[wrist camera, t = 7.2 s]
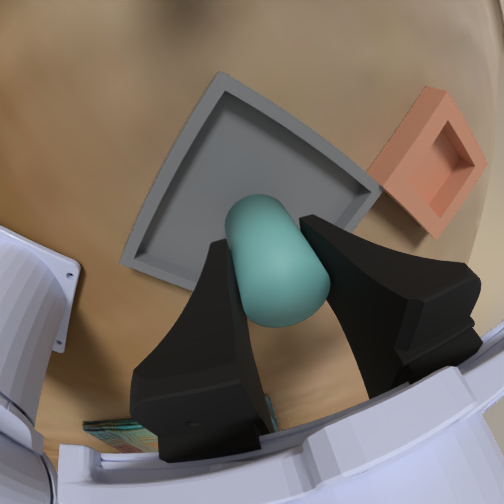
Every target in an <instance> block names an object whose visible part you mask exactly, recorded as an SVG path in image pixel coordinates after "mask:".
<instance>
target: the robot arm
mask: <svg viewBox="0 0 504 504" xmlns="http://www.w3.org/2000/svg"><path fill="white" fill-rule="evenodd" d="M299 224H300V231H301V233H302V234H303V236H304V237H305V239H306V240H307V242H308V243H309V245H310V246H311V248H312V249H313V251H314V253H315V254H316V256H317V257H318V259H319V260H320V262H321V264H322V265H323V267H324V268H325V270H326V271H327V273H328V275H329V278H330V290H329V294H328V296H327V298H326V300H327V302H328V303H329V305H330V306H331V308H332V310H333V311H334V313H335V315H336V317H337V318H338V320H339V322H340V324H341V326H342V329H343V331H344V333H345V335H346V338H347V340H348V342H349V345H350V347H351V350H352V352H353V354H354V357H355V359H356V362H357V365H358V367H359V370H360V373H361V375H362V378H363V381H364V384H365V387H366V390H367V393H368V396H369V399H370V400H368V401H365V402H363V403H360V404H358V405H356V406H353V407H351V408H348V409H346V410H343V411H340V412H338V413H335V414H332V415H329V416H327V417H324V418H321V419H318V420H315V421H312V422H309V423H306V424H302V425H299V426H296V427H293V428H289V429H286V430H282V431H278V432H275V430H274V427H273V424H272V420H271V417H270V413H269V410H268V407H267V403H266V400H265V396H264V393H263V389H262V386H261V382H260V378H259V375H258V371H257V367H256V364H255V360H254V356H253V353H252V348H251V343H250V337H249V330H248V324H247V317H246V314H245V312H244V309H243V305H242V301H241V296H240V292H239V288H238V284H237V280H236V275H235V270H234V265H233V261H232V257H231V252H230V249H229V246H228V243H227V239H226V238H225V239H221V240H218V241H214V242H211V244H210V245H209V250H208V254H207V257H206V260H205V264H204V266H203V269H202V272H201V275H200V277H199V280H198V282H197V284H196V287H195V289H194V291H193V293H192V295H191V297H190V299H189V301H188V303H187V305H186V307H185V308H184V310H183V312H182V313H181V315H180V316H179V318H178V320H177V321H176V323H175V324H174V325H173V327H172V328H171V330H170V331H169V332H168V334H167V335H166V336H165V337H164V339H163V340H162V341H161V342H160V343H159V344H158V346H157V347H156V348H155V349H154V350H153V351H152V352H151V353H150V354H149V355H148V356H147V357H146V358H145V359H144V360H143V361H142V362H141V363H140V364H139V365H138V366H137V367H136V368H135V369H134V370H133V376H132V381H131V389H130V414H131V417H132V418H133V419H134V420H135V421H136V422H137V423H138V424H140V425H141V426H143V427H144V428H145V429H147V430H148V431H150V432H151V433H153V434H154V435H156V436H158V452H148V453H99V452H98V451H97V450H95V449H93V448H91V447H88V446H85V445H76V444H60V449H59V462H58V474H57V472H56V469H55V467H54V465H53V464H52V462H51V460H50V459H49V457H48V456H47V455H46V454H45V453H44V452H43V451H42V450H43V441H44V436H43V435H42V434H40V433H39V432H37V431H36V430H35V429H34V427H35V421H36V415H37V410H38V405H39V400H40V395H41V391H42V386H43V382H44V378H45V374H46V370H47V366H48V363H49V359H50V355H51V352H52V350H53V351H56V352H58V353H63V352H64V350H65V344H66V337H67V331H68V325H69V320H70V314H71V309H72V304H73V300H74V295H75V291H76V286H77V282H78V278H79V274H80V270H81V267H80V264H79V263H78V262H77V261H75V260H73V259H71V258H68V257H66V256H64V255H62V254H59V253H57V252H55V251H53V250H50V249H48V248H46V247H44V246H42V245H40V244H37V243H35V242H33V241H31V240H29V239H27V238H25V237H23V236H21V235H19V234H17V233H15V232H13V231H11V230H9V229H7V228H5V227H3V226H1V225H0V504H504V457H503V455H502V453H501V451H500V449H499V447H498V445H497V443H496V441H495V439H494V437H493V435H492V433H491V431H490V429H489V427H488V425H487V423H486V422H485V420H484V418H483V416H482V414H483V413H484V412H485V411H486V410H488V409H489V408H490V407H491V406H492V405H494V404H495V403H496V402H497V401H498V400H499V399H500V398H501V397H502V396H504V320H503V321H502V322H501V323H499V324H498V325H496V326H495V327H494V328H493V329H491V330H490V331H489V332H487V333H486V334H485V335H483V336H482V337H479V336H478V334H477V333H476V332H475V330H474V329H473V328H472V327H474V325H475V323H474V320H473V319H472V318H471V317H470V314H471V312H472V310H473V308H474V306H475V304H476V302H477V299H478V297H479V294H480V290H481V281H480V278H479V277H478V276H477V275H476V274H475V273H474V272H473V271H472V270H471V269H470V268H469V267H468V266H467V265H466V264H465V263H460V262H450V261H440V260H434V259H428V258H423V257H418V256H414V255H410V254H406V253H402V252H398V251H395V250H392V249H389V248H386V247H383V246H380V245H377V244H375V243H372V242H370V241H367V240H365V239H363V238H360V237H358V236H356V235H354V234H352V233H349V232H347V231H345V230H343V229H341V228H339V227H337V226H335V225H334V224H332V223H330V222H328V221H326V220H324V219H322V218H320V217H318V216H316V215H314V214H311V215H307V216H304V217H300V218H299ZM69 273H71V274H73V276H71V275H70V274H69Z"/></svg>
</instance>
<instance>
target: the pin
mask: <svg viewBox="0 0 504 504" xmlns="http://www.w3.org/2000/svg"><path fill="white" fill-rule="evenodd" d="M225 233H226V237H227V241H228V246H229V249H230V252H231V257H232V261H233V265H234V270H235V275H236V280H237V284H238V288H239V292H240V296H241V301H242V305H243V309H244V312H245V314H246V315H247V317H248V318H249V319H250V320H252V321H253V322H254V323H256V324H258V325H261V326H265V327H271V328H278V327H286V326H290V325H294V324H296V323H299V322H301V321H303V320H305V319H307V318H308V317H310V316H311V315H313V314H314V313H315V312H316V311H317V310H318V309H319V308H320V307H321V306H322V305H323V303H324V302H325V300H326V298H327V296H328V294H329V290H330V278H329V275H328V273H327V271H326V270H325V268H324V267H323V265H322V264H321V262H320V260H319V259H318V257H317V256H316V254H315V253H314V251H313V249H312V248H311V246H310V245H309V243H308V242H307V240H306V239H305V237H304V236H303V234H302V233H301V231H300V230H299V228H298V227H297V225H296V224H295V222H294V221H293V219H292V218H291V216H290V215H289V213H288V212H287V210H286V209H285V207H284V206H283V204H282V203H281V202H280V201H279V200H277V199H276V198H274V197H272V196H269V195H265V194H254V195H250V196H247V197H244V198H242V199H241V200H239V201H238V202H236V203H235V204H234V205H233V206H232V207H231V209H230V210H229V212H228V213H227V216H226V219H225Z"/></svg>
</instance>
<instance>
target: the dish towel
mask: <svg viewBox="0 0 504 504" xmlns="http://www.w3.org/2000/svg"><path fill="white" fill-rule="evenodd" d="M264 396H265V400H266V403H267V407H268V410H269V413H270V417H271V420H272V424H273V427H274V430H275V432H278V431H279V429H278V427H277V426H278V425H277V421H276V418H275V416H274V411H273V408H272V404H271V402H270V398H269V396H267V395H264ZM82 426H84V427H83V430H84V431H85V432H87V433H90V434H91V435H93V436H95V437H97V438H98V439H100V440H102V441H103V442H105V443H107V444H108V445H110V446H113V447H115V448H117V449H118V450H120V451H122V452H124V453H148V452H158V436H156V435H154V434H153V433H151V432H150V431H148V430H147V429H145V428H144V427H143V426H141V425H140V424H138V423H137V422H136V421H135V420H134V419H128V420H111V421H93V422H85V421H83V424H82Z"/></svg>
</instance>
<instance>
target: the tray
mask: <svg viewBox="0 0 504 504" xmlns="http://www.w3.org/2000/svg"><path fill="white" fill-rule="evenodd" d="M383 191H384V188H383V187H382V186H381V185H380V184H378V183H377V182H376V181H375V180H374V179H373V178H372V177H371V176H369V175H368V174H367V173H366V172H365V171H364V170H362V169H361V168H360V167H359V166H358V165H357V164H355V163H354V162H353V161H352V160H351V159H349V158H348V157H347V156H346V155H344V154H343V153H342V152H341V151H339V150H338V149H337V148H336V147H334V146H333V145H332V144H331V143H329V142H328V141H327V140H325V139H324V138H323V137H321V136H320V135H319V134H317V133H316V132H315V131H313V130H312V129H311V128H309V127H308V126H307V125H305V124H304V123H302V122H301V121H300V120H298V119H297V118H295V117H294V116H292V115H291V114H289V113H288V112H287V111H285V110H284V109H282V108H281V107H279V106H278V105H276V104H275V103H273V102H271V101H270V100H268V99H267V98H265V97H264V96H262V95H260V94H259V93H257V92H256V91H254V90H252V89H251V88H249V87H247V86H246V85H244V84H242V83H241V82H239V81H237V80H236V79H234V78H232V77H230V76H229V75H227V74H225V73H223V72H221V71H219V72H217V73H216V75H215V76H214V78H213V79H212V81H211V82H210V84H209V85H208V87H207V88H206V90H205V92H204V93H203V95H202V96H201V98H200V99H199V101H198V103H197V104H196V106H195V107H194V109H193V111H192V112H191V114H190V116H189V117H188V119H187V121H186V122H185V124H184V126H183V128H182V129H181V131H180V133H179V135H178V136H177V138H176V140H175V142H174V143H173V145H172V147H171V149H170V151H169V153H168V155H167V156H166V158H165V160H164V162H163V164H162V166H161V168H160V170H159V172H158V174H157V176H156V178H155V180H154V182H153V184H152V186H151V188H150V190H149V192H148V194H147V196H146V198H145V200H144V203H143V205H142V207H141V209H140V211H139V213H138V216H137V218H136V220H135V222H134V225H133V227H132V229H131V232H130V234H129V236H128V239H127V241H126V244H125V246H124V249H123V252H122V255H121V259H120V262H119V263H120V264H122V265H125V266H127V267H130V268H132V269H135V270H137V271H140V272H142V273H145V274H148V275H150V276H153V277H155V278H158V279H161V280H163V281H166V282H169V283H172V284H174V285H177V286H180V287H182V288H185V289H188V290H191V291H194V289H195V287H196V284H197V282H198V280H199V277H200V275H201V272H202V269H203V266H204V264H205V260H206V257H207V254H208V250H209V245H210V244H211V242H214V241H218V240H221V239H225V238H226V239H227V237H226V233H225V219H226V216H227V213H228V212H229V210H230V209H231V207H232V206H233V205H234V204H235V203H236V202H238V201H239V200H241V199H242V198H244V197H247V196H250V195H254V194H265V195H269V196H272V197H274V198H276V199H277V200H279V201H280V202H281V203H282V204H283V206H284V207H285V209H286V210H287V212H288V213H289V215H290V216H291V218H292V219H293V221H294V222H295V224H296V225H297V227H298V228H299V230H300V224H299V218H300V217H304V216H307V215H311V214H314V215H316V216H318V217H320V218H322V219H324V220H326V221H328V222H330V223H332V224H334V225H335V226H337V227H339V228H341V229H343V230H345V231H347V232H349V233H351V232H352V231H353V230H354V229H355V227H356V226H357V225H358V224H359V222H360V221H361V220H362V218H363V217H364V216H365V215H366V213H367V212H368V211H369V209H370V208H371V207H372V205H373V204H374V203H375V201H376V200H377V199H378V197H379V196H380V195H381V193H382V192H383ZM227 243H228V241H227Z"/></svg>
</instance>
